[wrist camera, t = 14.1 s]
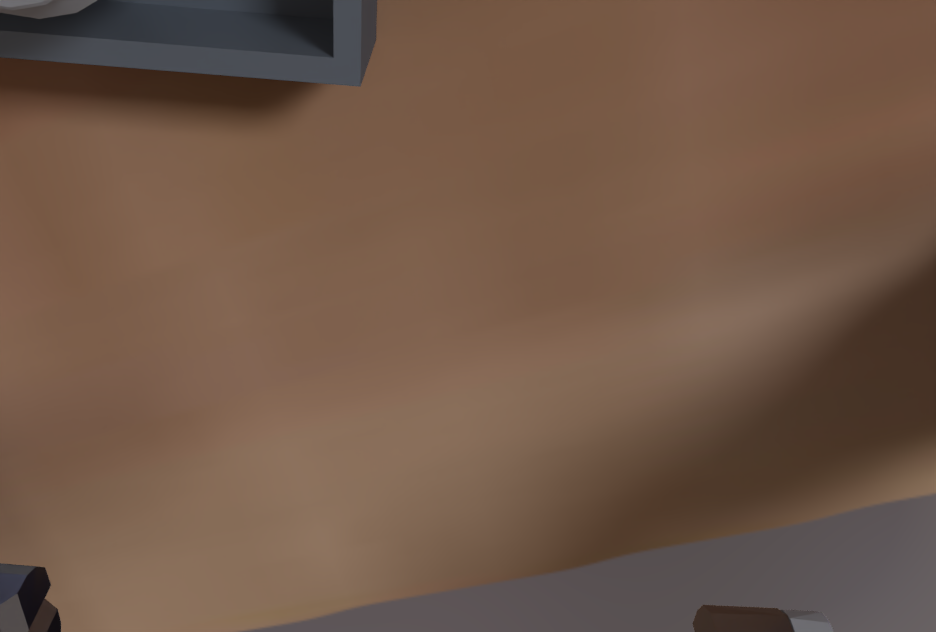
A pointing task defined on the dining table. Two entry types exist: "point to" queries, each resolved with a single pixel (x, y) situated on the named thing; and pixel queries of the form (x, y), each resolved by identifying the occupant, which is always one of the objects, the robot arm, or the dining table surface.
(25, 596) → the robot arm
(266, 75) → the bin
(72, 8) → the can
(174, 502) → the dining table surface
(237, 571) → the dining table surface
